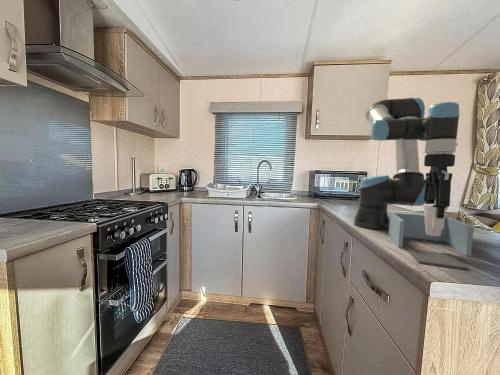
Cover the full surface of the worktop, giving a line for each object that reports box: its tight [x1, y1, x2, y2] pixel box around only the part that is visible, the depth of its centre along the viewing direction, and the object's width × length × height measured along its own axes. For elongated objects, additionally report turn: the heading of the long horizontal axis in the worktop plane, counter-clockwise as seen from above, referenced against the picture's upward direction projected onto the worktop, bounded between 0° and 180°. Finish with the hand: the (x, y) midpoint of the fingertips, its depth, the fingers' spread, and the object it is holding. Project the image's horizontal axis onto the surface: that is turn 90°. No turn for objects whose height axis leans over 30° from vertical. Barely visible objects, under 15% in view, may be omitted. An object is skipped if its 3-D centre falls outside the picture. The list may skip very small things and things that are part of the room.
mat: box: [407, 248, 469, 271], centre depth 68 cm, size 11×11×1 cm
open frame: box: [388, 212, 475, 257], centre depth 82 cm, size 17×19×9 cm
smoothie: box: [422, 203, 449, 236], centre depth 75 cm, size 6×6×14 cm
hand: (433, 225), depth 75 cm, fingers closed on smoothie, 6 cm apart
